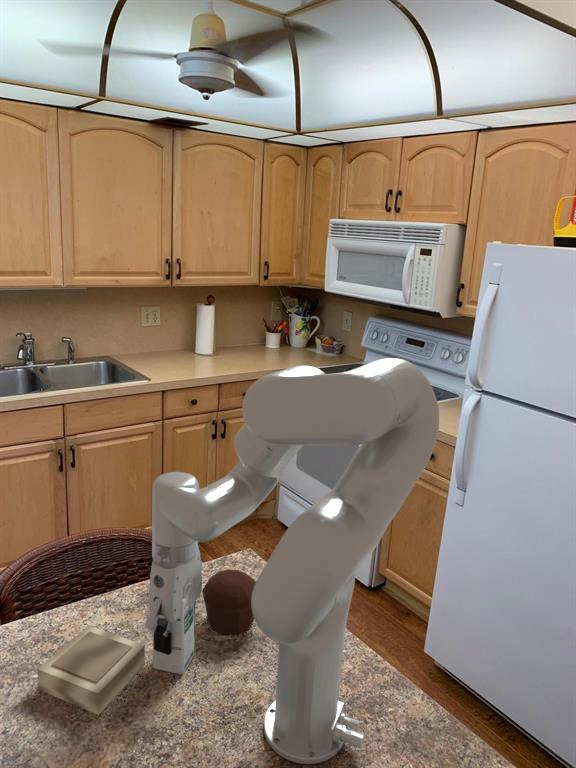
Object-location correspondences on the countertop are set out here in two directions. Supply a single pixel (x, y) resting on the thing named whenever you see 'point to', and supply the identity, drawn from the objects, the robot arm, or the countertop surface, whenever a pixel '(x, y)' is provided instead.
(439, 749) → the countertop surface
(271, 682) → the countertop surface
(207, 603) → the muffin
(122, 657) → the base block
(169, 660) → the syrup box
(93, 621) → the countertop surface
